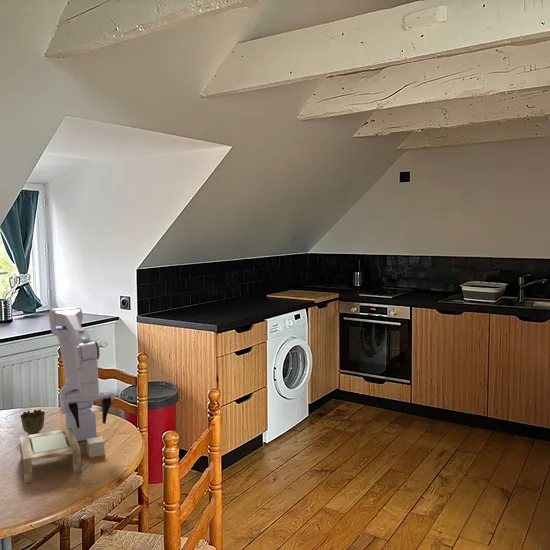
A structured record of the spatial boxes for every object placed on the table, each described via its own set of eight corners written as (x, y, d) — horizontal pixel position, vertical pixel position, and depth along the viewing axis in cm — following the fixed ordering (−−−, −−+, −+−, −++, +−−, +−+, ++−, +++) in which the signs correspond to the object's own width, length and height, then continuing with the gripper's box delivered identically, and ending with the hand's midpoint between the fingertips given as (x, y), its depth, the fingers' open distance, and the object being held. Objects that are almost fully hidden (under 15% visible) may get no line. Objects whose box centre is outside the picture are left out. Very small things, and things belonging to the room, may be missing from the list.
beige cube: (101, 449, 180) (101, 436, 179) (104, 455, 176) (104, 441, 175) (87, 452, 178) (86, 438, 177) (89, 458, 174) (89, 444, 173)
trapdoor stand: (72, 449, 180) (71, 427, 179) (81, 471, 164) (80, 448, 164) (20, 458, 173) (19, 436, 173) (24, 483, 157) (23, 459, 157)
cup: (22, 442, 186) (21, 418, 185) (21, 434, 192) (19, 411, 191) (46, 438, 189) (45, 414, 188) (44, 430, 196) (43, 408, 195)
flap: (64, 442, 176) (64, 432, 176) (70, 457, 165) (69, 446, 165) (31, 448, 172) (31, 438, 171) (34, 463, 161) (34, 453, 161)
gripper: (64, 387, 167) (67, 432, 168) (114, 381, 173) (117, 424, 174) (62, 382, 174) (65, 426, 175) (111, 376, 180) (114, 418, 180)
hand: (91, 425), depth 175 cm, fingers open, 7 cm apart
